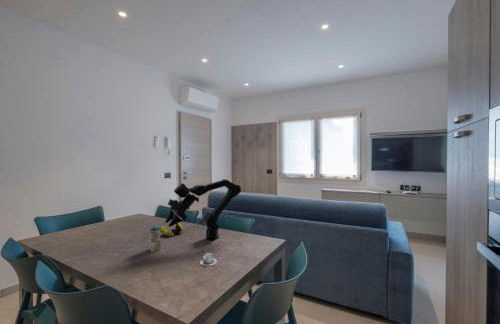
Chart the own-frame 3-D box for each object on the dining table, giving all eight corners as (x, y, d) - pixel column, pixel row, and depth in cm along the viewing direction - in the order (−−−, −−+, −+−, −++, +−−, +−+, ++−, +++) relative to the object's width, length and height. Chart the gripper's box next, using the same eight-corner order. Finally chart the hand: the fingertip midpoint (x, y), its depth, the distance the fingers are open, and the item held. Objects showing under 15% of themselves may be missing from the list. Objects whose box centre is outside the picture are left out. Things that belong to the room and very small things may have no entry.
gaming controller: (158, 235, 150) (166, 238, 144) (158, 226, 150) (166, 229, 144) (178, 229, 162) (187, 232, 155) (178, 222, 162) (187, 224, 155)
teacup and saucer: (202, 258, 115) (202, 250, 115) (218, 258, 115) (218, 250, 115) (198, 266, 107) (198, 257, 106) (215, 266, 106) (215, 258, 106)
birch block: (158, 247, 129) (158, 225, 129) (160, 250, 125) (159, 227, 125) (150, 249, 127) (149, 226, 127) (151, 251, 123) (150, 228, 123)
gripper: (173, 192, 140) (153, 212, 134) (180, 196, 124) (159, 219, 118) (186, 203, 144) (167, 223, 138) (195, 209, 128) (175, 232, 122)
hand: (167, 224), depth 129 cm, fingers open, 9 cm apart
